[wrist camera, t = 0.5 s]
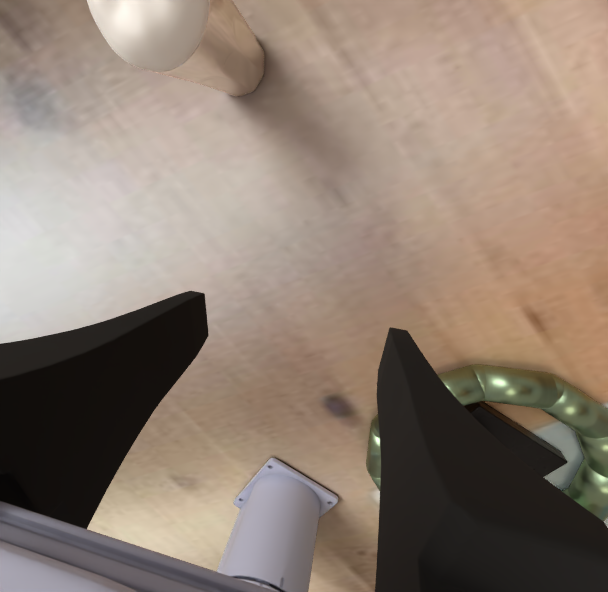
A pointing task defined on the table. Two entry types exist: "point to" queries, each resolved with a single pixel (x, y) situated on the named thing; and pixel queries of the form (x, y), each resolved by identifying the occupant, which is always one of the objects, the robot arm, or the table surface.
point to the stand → (518, 439)
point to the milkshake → (184, 40)
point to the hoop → (538, 394)
